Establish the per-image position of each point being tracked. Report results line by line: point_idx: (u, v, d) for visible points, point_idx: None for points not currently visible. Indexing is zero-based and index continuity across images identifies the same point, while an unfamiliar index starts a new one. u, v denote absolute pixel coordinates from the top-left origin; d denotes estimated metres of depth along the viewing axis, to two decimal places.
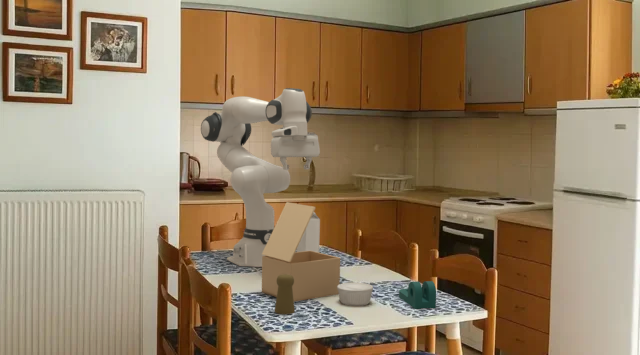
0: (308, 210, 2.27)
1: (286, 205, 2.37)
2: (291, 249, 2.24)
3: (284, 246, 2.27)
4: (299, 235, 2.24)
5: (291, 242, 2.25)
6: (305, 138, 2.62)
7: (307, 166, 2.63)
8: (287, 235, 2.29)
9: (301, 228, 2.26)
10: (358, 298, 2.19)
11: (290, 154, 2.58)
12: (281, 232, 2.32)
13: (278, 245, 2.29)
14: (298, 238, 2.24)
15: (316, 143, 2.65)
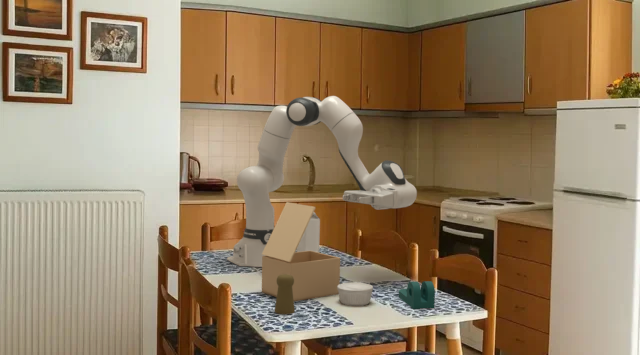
0: (308, 210, 2.27)
1: (286, 205, 2.37)
2: (291, 249, 2.24)
3: (284, 246, 2.27)
4: (299, 235, 2.24)
5: (291, 242, 2.25)
6: None
7: None
8: (287, 235, 2.29)
9: (301, 228, 2.26)
10: (359, 298, 2.19)
11: (370, 204, 2.46)
12: (281, 232, 2.32)
13: (278, 245, 2.29)
14: (298, 238, 2.24)
15: None
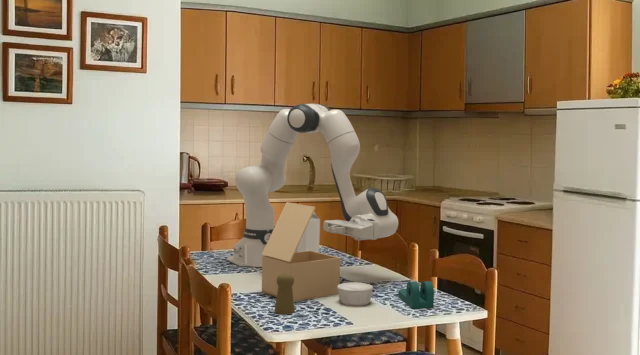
0: (308, 210, 2.27)
1: (286, 205, 2.37)
2: (291, 249, 2.24)
3: (284, 246, 2.27)
4: (299, 235, 2.24)
5: (291, 242, 2.25)
6: None
7: None
8: (287, 235, 2.29)
9: (301, 228, 2.26)
10: (358, 298, 2.19)
11: (349, 235, 2.41)
12: (281, 232, 2.32)
13: (278, 245, 2.29)
14: (298, 238, 2.24)
15: None
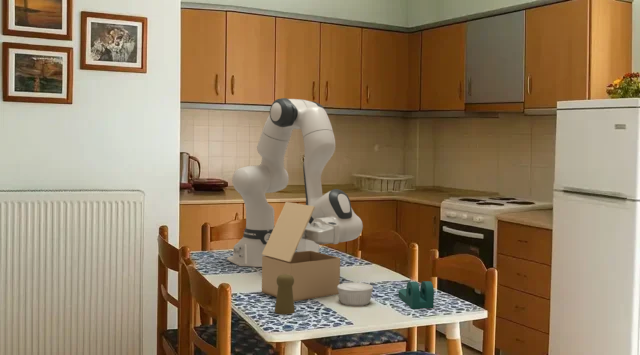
0: (308, 210, 2.27)
1: (285, 205, 2.37)
2: (291, 249, 2.24)
3: (284, 246, 2.27)
4: (299, 235, 2.24)
5: (291, 242, 2.25)
6: None
7: None
8: (286, 235, 2.29)
9: (301, 227, 2.25)
10: (358, 298, 2.19)
11: None
12: (281, 232, 2.32)
13: (278, 245, 2.29)
14: (298, 238, 2.24)
15: None
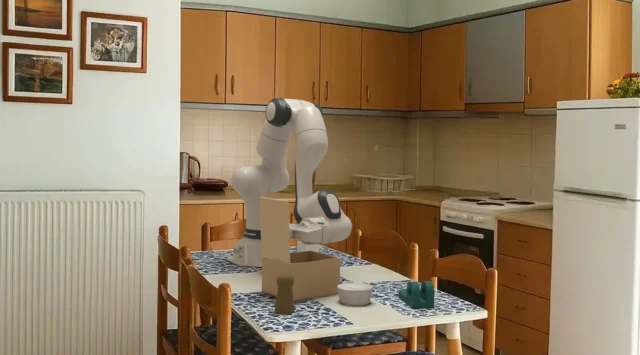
0: (283, 205, 2.21)
1: (261, 200, 2.31)
2: (285, 249, 2.22)
3: (278, 246, 2.25)
4: (286, 233, 2.21)
5: (282, 241, 2.23)
6: None
7: None
8: (275, 234, 2.26)
9: (285, 225, 2.21)
10: (358, 298, 2.19)
11: None
12: (269, 230, 2.28)
13: (272, 245, 2.28)
14: (286, 237, 2.21)
15: None
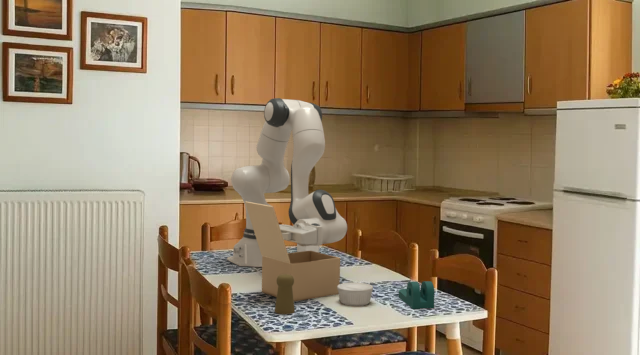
0: (269, 211, 2.18)
1: (247, 205, 2.27)
2: (282, 251, 2.22)
3: (274, 248, 2.25)
4: (279, 236, 2.20)
5: (277, 244, 2.22)
6: None
7: None
8: (269, 237, 2.25)
9: (276, 229, 2.19)
10: (358, 298, 2.19)
11: (292, 241, 2.26)
12: (262, 233, 2.27)
13: (269, 246, 2.27)
14: (280, 240, 2.20)
15: None
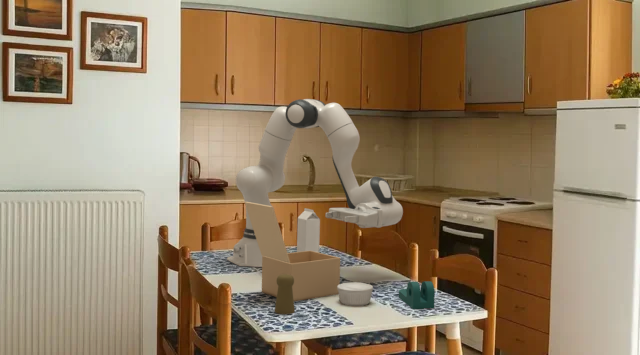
0: (269, 211, 2.18)
1: (246, 205, 2.27)
2: (282, 251, 2.22)
3: (274, 248, 2.25)
4: (279, 237, 2.20)
5: (277, 244, 2.22)
6: None
7: (329, 217, 2.48)
8: (269, 237, 2.25)
9: (276, 229, 2.19)
10: (358, 298, 2.19)
11: None
12: (262, 233, 2.27)
13: (269, 246, 2.27)
14: (280, 240, 2.20)
15: None
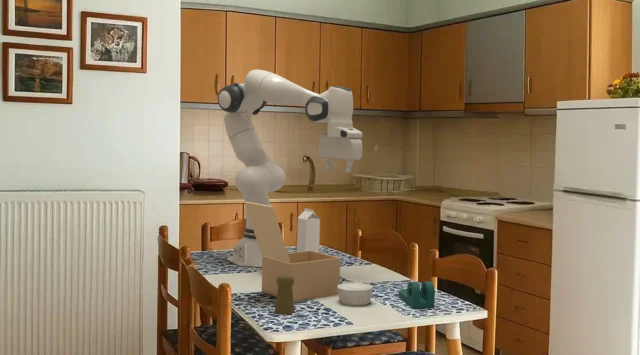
0: (269, 211, 2.18)
1: (246, 205, 2.27)
2: (282, 251, 2.22)
3: (274, 248, 2.25)
4: (279, 237, 2.20)
5: (277, 244, 2.22)
6: None
7: None
8: (269, 237, 2.25)
9: (276, 229, 2.19)
10: (358, 298, 2.19)
11: None
12: (262, 233, 2.27)
13: (269, 246, 2.27)
14: (280, 240, 2.20)
15: None
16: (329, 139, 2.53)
